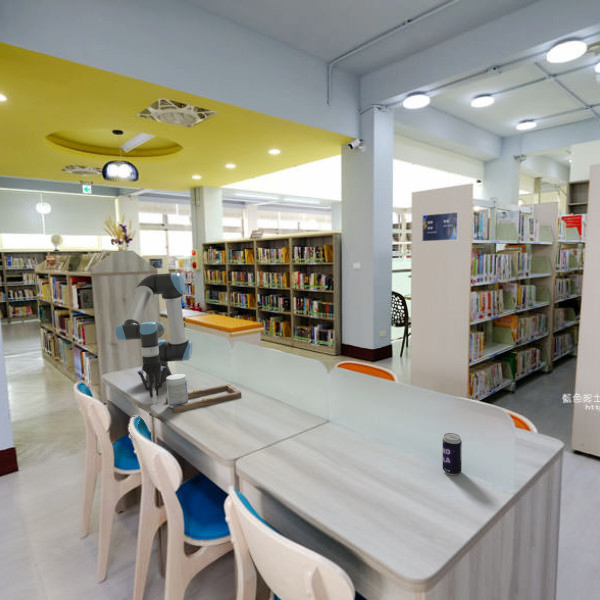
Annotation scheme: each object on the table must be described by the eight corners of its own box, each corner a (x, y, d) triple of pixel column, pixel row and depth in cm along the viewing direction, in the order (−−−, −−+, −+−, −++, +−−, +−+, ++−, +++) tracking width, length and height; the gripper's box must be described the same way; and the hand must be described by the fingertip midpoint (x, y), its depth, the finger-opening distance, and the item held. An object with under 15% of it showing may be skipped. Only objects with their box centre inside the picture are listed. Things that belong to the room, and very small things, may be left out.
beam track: (165, 402, 200) (165, 396, 200) (229, 388, 218) (228, 382, 218) (174, 412, 186) (174, 406, 186) (241, 396, 204) (241, 391, 203)
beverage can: (446, 465, 131) (446, 430, 130) (463, 470, 128) (464, 435, 127) (439, 472, 127) (439, 437, 126) (458, 478, 124) (458, 442, 122)
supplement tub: (191, 405, 195) (189, 376, 193) (173, 410, 188) (171, 380, 187) (182, 400, 202) (180, 372, 200) (164, 405, 195) (162, 376, 194)
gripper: (137, 358, 180) (141, 408, 183) (166, 354, 187) (170, 402, 189) (134, 355, 186) (138, 403, 189) (163, 351, 193) (166, 397, 196)
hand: (154, 403), depth 189 cm, fingers closed
